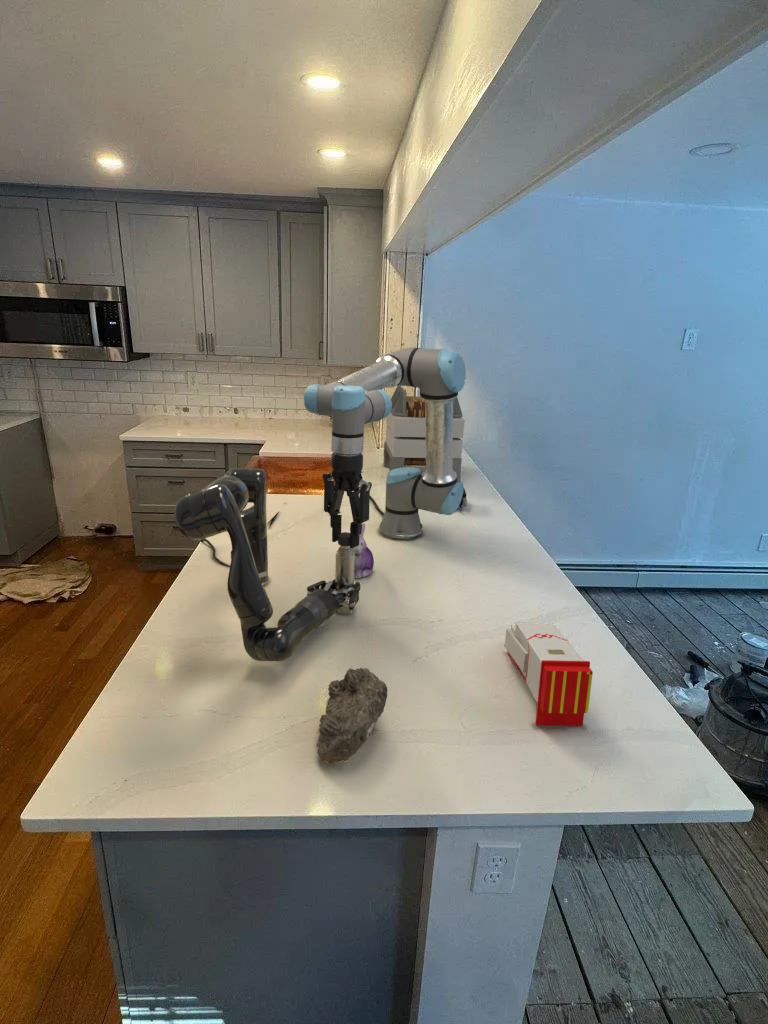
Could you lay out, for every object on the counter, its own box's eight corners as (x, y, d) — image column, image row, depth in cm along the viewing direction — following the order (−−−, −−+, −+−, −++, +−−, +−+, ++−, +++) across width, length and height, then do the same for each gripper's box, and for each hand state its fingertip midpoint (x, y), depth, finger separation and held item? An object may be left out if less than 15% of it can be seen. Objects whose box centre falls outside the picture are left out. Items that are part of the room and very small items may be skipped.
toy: (550, 607, 134) (601, 667, 105) (545, 659, 137) (594, 732, 108) (499, 606, 134) (537, 666, 104) (495, 659, 137) (530, 731, 107)
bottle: (344, 603, 152) (346, 531, 145) (356, 610, 149) (359, 536, 141) (331, 609, 148) (332, 535, 141) (343, 616, 145) (344, 541, 138)
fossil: (321, 669, 117) (379, 637, 112) (350, 699, 119) (408, 669, 114) (296, 756, 97) (365, 723, 92) (332, 790, 100) (400, 759, 95)
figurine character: (467, 515, 225) (461, 499, 238) (469, 498, 221) (463, 482, 235) (450, 514, 224) (445, 498, 238) (452, 497, 221) (447, 482, 234)
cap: (346, 539, 145) (346, 530, 144) (356, 543, 142) (356, 535, 141) (334, 543, 142) (334, 534, 141) (345, 547, 140) (345, 539, 139)
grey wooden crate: (382, 463, 289) (386, 382, 275) (445, 464, 293) (451, 384, 279) (390, 482, 257) (394, 392, 243) (460, 483, 261) (468, 394, 247)
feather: (286, 506, 225) (288, 502, 225) (268, 529, 199) (271, 525, 198) (282, 503, 225) (284, 499, 225) (264, 526, 199) (267, 522, 198)
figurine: (352, 582, 163) (353, 533, 158) (338, 567, 172) (338, 521, 166) (381, 576, 167) (383, 529, 162) (366, 562, 176) (367, 517, 171)
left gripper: (339, 604, 130) (374, 576, 144) (288, 589, 136) (326, 563, 150) (339, 632, 132) (373, 602, 147) (288, 616, 138) (326, 588, 153)
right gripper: (387, 456, 132) (383, 548, 140) (328, 443, 142) (327, 530, 150) (368, 462, 126) (364, 557, 134) (308, 448, 136) (308, 538, 144)
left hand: (349, 582), depth 148 cm, fingers closed on bottle, 5 cm apart
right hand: (345, 543), depth 142 cm, fingers open, 5 cm apart
